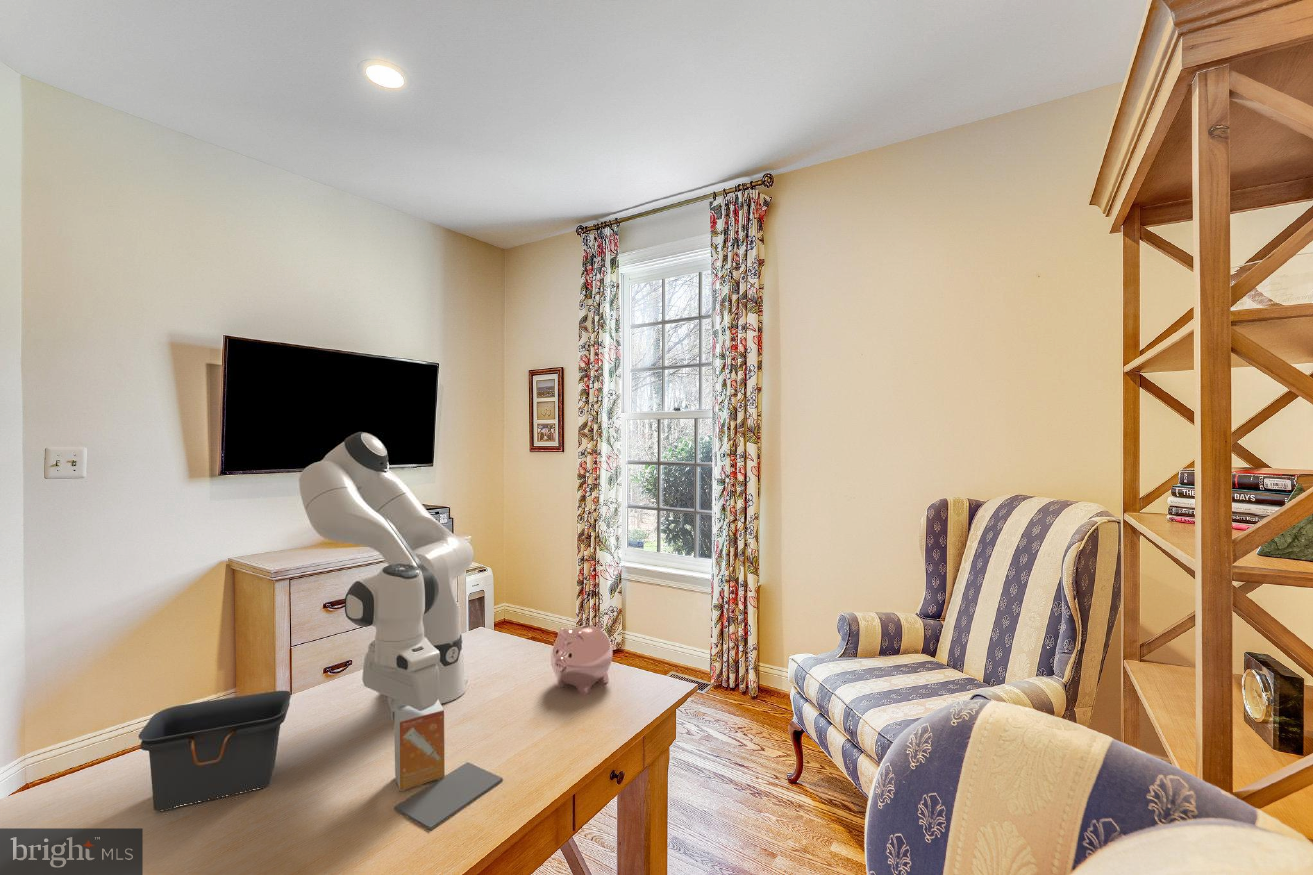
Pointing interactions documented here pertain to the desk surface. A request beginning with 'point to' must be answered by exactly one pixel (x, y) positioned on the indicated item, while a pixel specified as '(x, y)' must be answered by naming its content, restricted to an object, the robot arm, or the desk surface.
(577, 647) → the piggy bank
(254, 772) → the storage bin
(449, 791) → the mat
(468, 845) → the desk surface
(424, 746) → the small box
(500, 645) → the desk surface
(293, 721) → the desk surface
